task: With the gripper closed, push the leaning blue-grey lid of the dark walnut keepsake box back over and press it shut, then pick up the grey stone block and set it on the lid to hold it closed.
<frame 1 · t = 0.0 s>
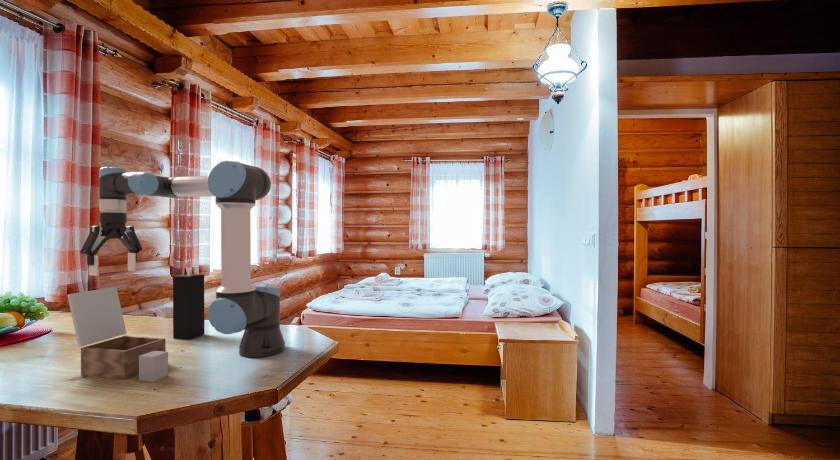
hand: (113, 273, 138), 28 cm above the table, fingers open, 13 cm apart
keepsake box: (125, 368, 123), on the table
stone block: (153, 377, 116), on the table
lid: (98, 315, 125), point 16 cm above the table, hinge at 105.0°
tall black column: (189, 337, 159), on the table
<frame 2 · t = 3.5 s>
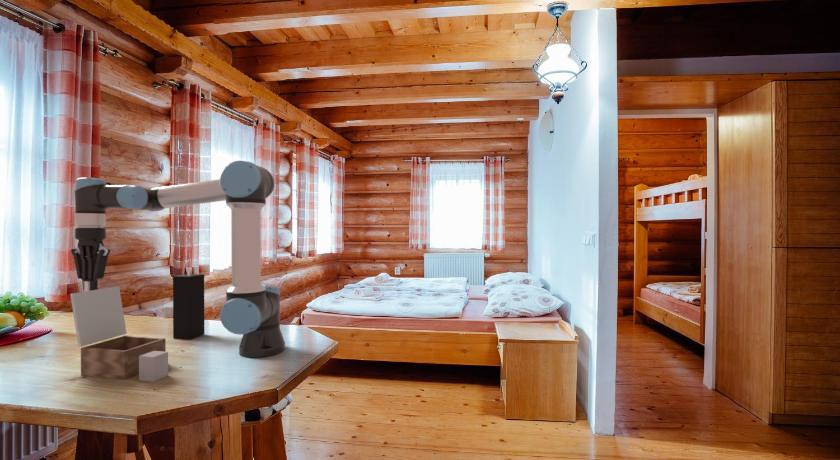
hand: (90, 301, 126), 20 cm above the table, fingers closed
lid: (99, 314, 125), point 16 cm above the table, hinge at 100.8°, touching gripper
everything else where it was.
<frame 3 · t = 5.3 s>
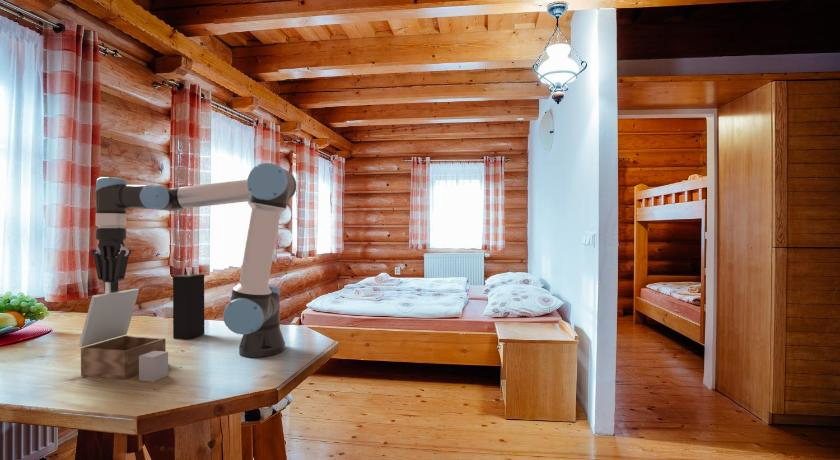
hand: (111, 302, 124), 20 cm above the table, fingers closed
lid: (110, 316, 124), point 16 cm above the table, hinge at 70.9°, touching gripper
everything else where it was.
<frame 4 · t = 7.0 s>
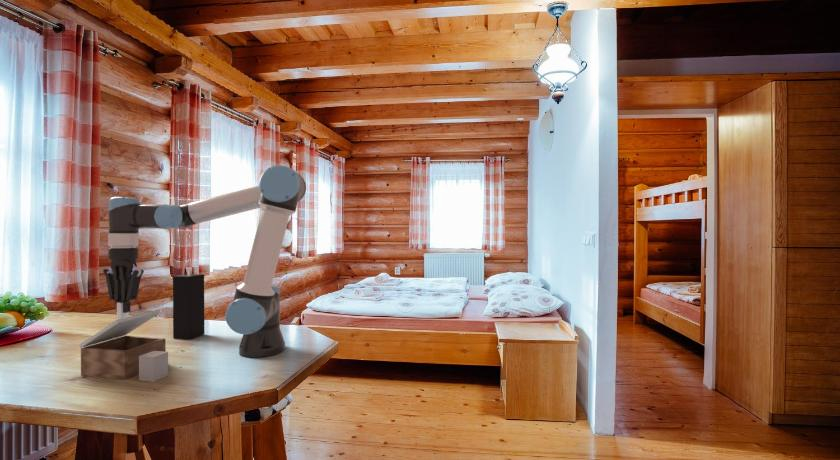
hand: (122, 322, 123), 14 cm above the table, fingers closed
lid: (121, 327, 123), point 13 cm above the table, hinge at 30.4°, touching gripper
everything else where it was.
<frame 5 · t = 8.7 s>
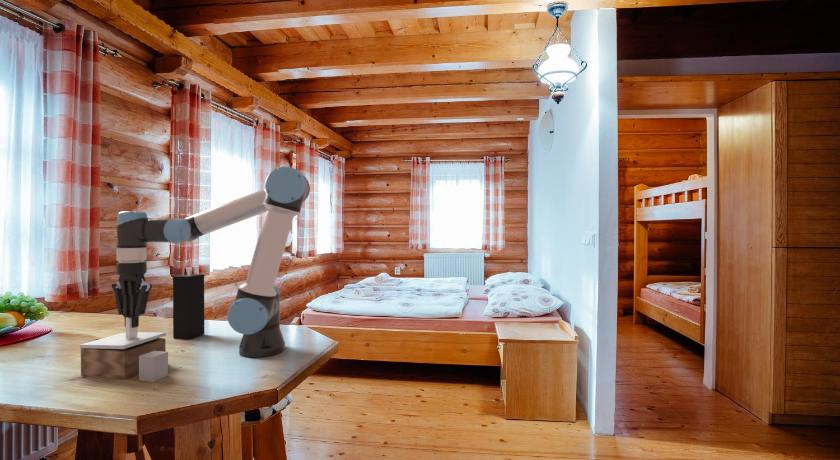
hand: (131, 337, 122), 10 cm above the table, fingers closed
lid: (124, 339, 123), point 9 cm above the table, hinge at 2.7°, touching gripper
everything else where it was.
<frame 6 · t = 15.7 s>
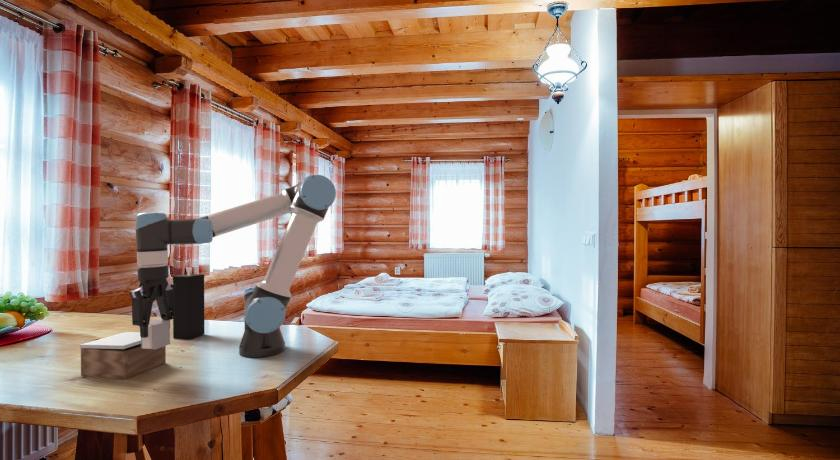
hand: (156, 344, 116), 10 cm above the table, fingers closed on stone block, 5 cm apart
stone block: (156, 346, 116), point 9 cm above the table, touching gripper
lid: (124, 339, 123), point 9 cm above the table, hinge at 2.6°
everything else where it was.
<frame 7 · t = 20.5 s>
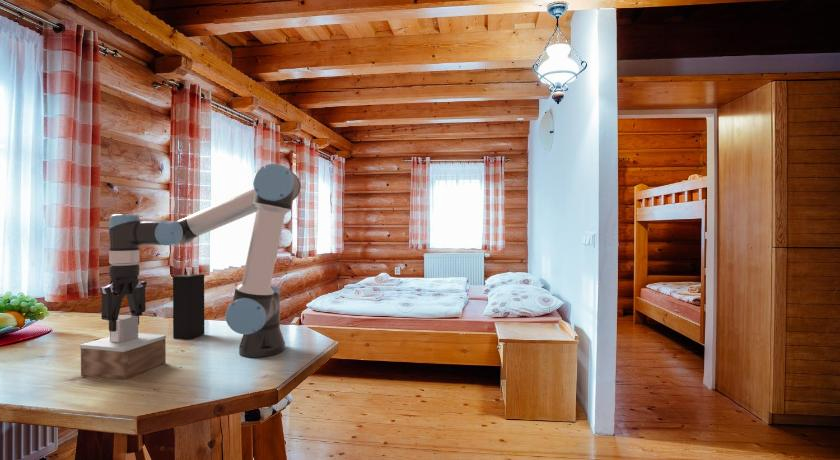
hand: (124, 338, 123), 9 cm above the table, fingers closed on lid, stone block, 5 cm apart
stone block: (124, 339, 123), point 9 cm above the table, touching gripper, lid
lid: (124, 341, 123), point 9 cm above the table, hinge at -0.4°, touching gripper, keepsake box, stone block
everything else where it was.
when the fingers open (9 cm above the table, at t = 21.0 s): stone block stays where it is, resting on lid.
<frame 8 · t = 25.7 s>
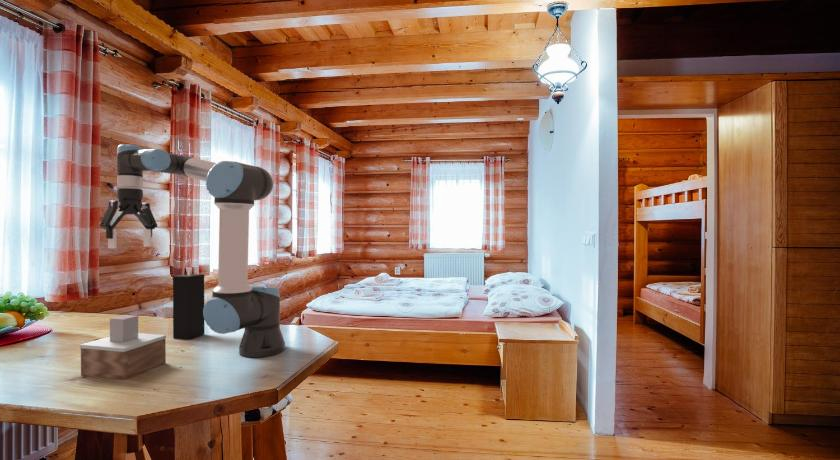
hand: (130, 247, 143), 37 cm above the table, fingers open, 13 cm apart
stone block: (124, 339, 123), point 9 cm above the table, touching lid
lid: (124, 341, 123), point 9 cm above the table, hinge at -0.4°, touching keepsake box, stone block
everything else where it was.
at the end: lid at +0° (first picture: +105°); stone block inside the target area on the lid (0.2 cm from its centre), point 0.5 cm above the lid's base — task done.
